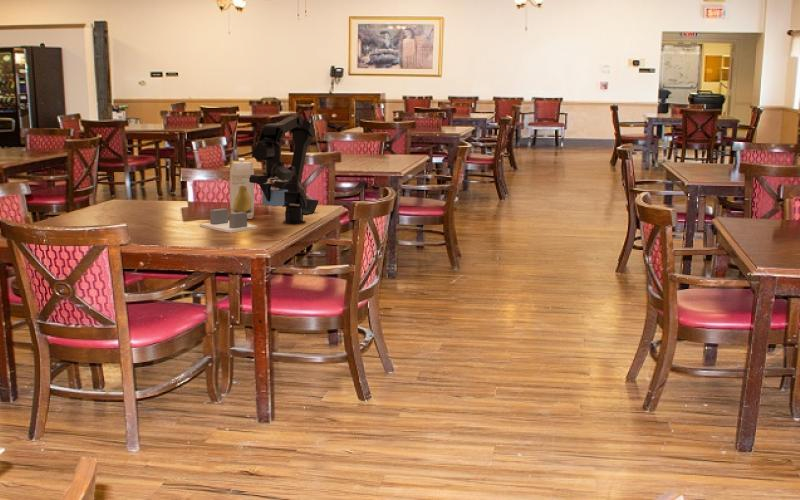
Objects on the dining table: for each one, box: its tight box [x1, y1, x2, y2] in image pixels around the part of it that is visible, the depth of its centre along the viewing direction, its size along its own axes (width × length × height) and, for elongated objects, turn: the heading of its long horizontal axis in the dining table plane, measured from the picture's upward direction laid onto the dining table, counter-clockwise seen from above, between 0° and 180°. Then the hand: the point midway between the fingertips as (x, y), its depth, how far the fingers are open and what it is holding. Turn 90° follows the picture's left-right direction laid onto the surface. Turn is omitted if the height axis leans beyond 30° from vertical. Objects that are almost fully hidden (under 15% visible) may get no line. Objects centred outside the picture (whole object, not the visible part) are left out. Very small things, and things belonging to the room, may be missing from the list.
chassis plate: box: [199, 207, 259, 234], centre depth 330 cm, size 13×18×6 cm
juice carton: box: [228, 157, 255, 220], centre depth 351 cm, size 9×8×24 cm
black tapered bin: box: [299, 198, 319, 216], centre depth 369 cm, size 12×7×10 cm
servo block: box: [258, 187, 288, 207], centre depth 327 cm, size 4×11×6 cm, turn 49°
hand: (273, 200), depth 327 cm, fingers closed on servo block, 4 cm apart
